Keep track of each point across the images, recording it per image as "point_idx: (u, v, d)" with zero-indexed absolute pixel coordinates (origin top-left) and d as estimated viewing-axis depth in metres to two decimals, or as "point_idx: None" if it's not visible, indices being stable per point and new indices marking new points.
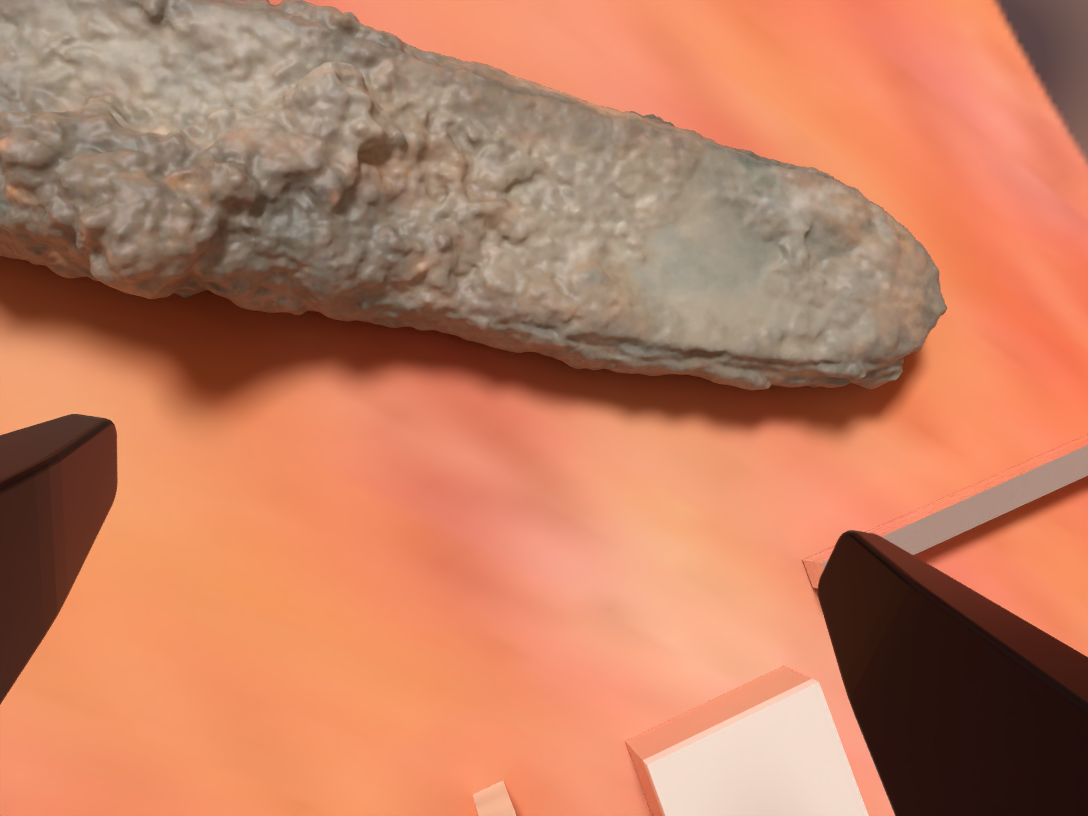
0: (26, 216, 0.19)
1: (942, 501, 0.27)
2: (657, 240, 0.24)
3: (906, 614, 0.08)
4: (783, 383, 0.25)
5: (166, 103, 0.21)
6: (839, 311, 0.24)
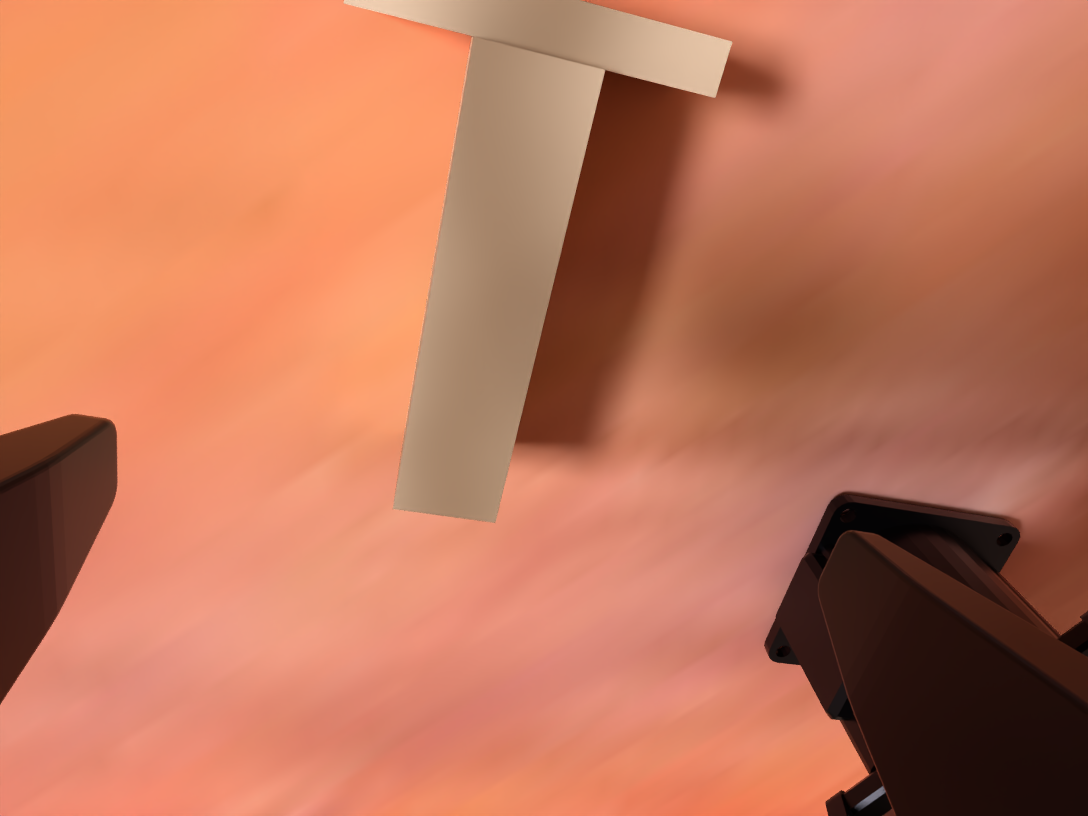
0: None
1: None
2: None
3: (906, 614, 0.08)
4: None
5: None
6: None
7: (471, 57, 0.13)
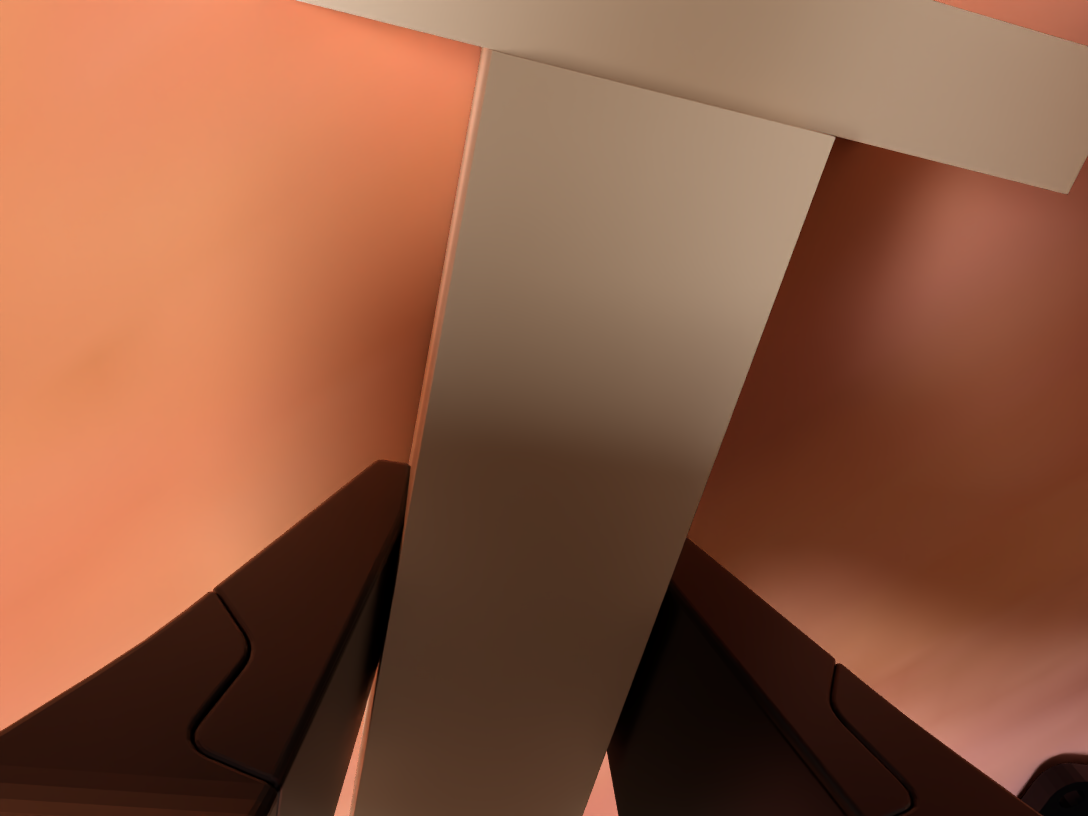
0: None
1: None
2: None
3: None
4: None
5: None
6: None
7: (485, 106, 0.05)
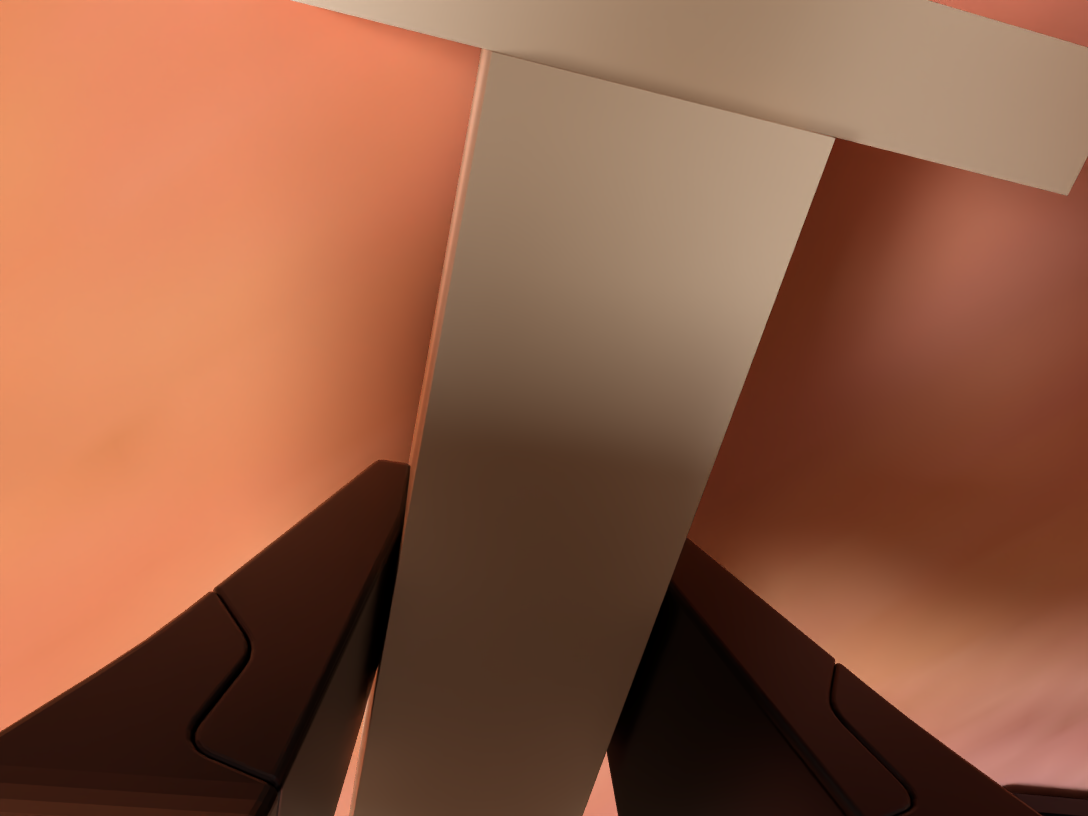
0: None
1: None
2: None
3: None
4: None
5: None
6: None
7: (484, 107, 0.05)
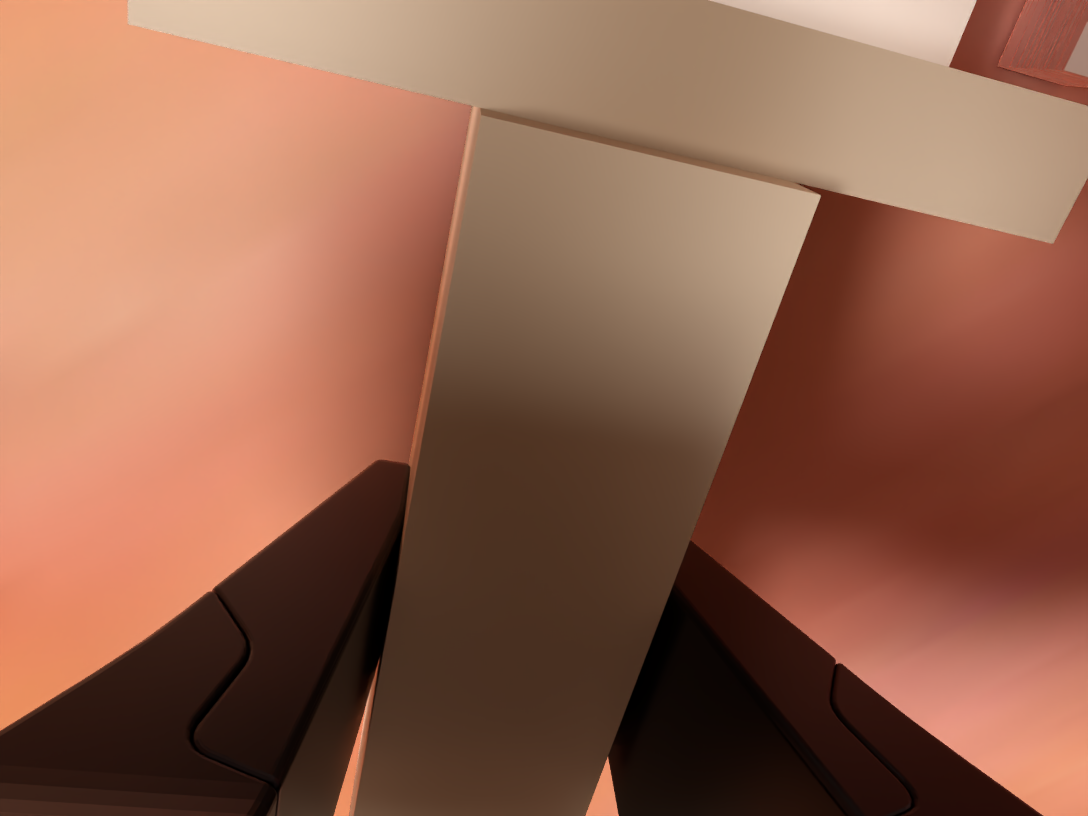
0: None
1: None
2: None
3: None
4: None
5: None
6: None
7: (474, 167, 0.05)
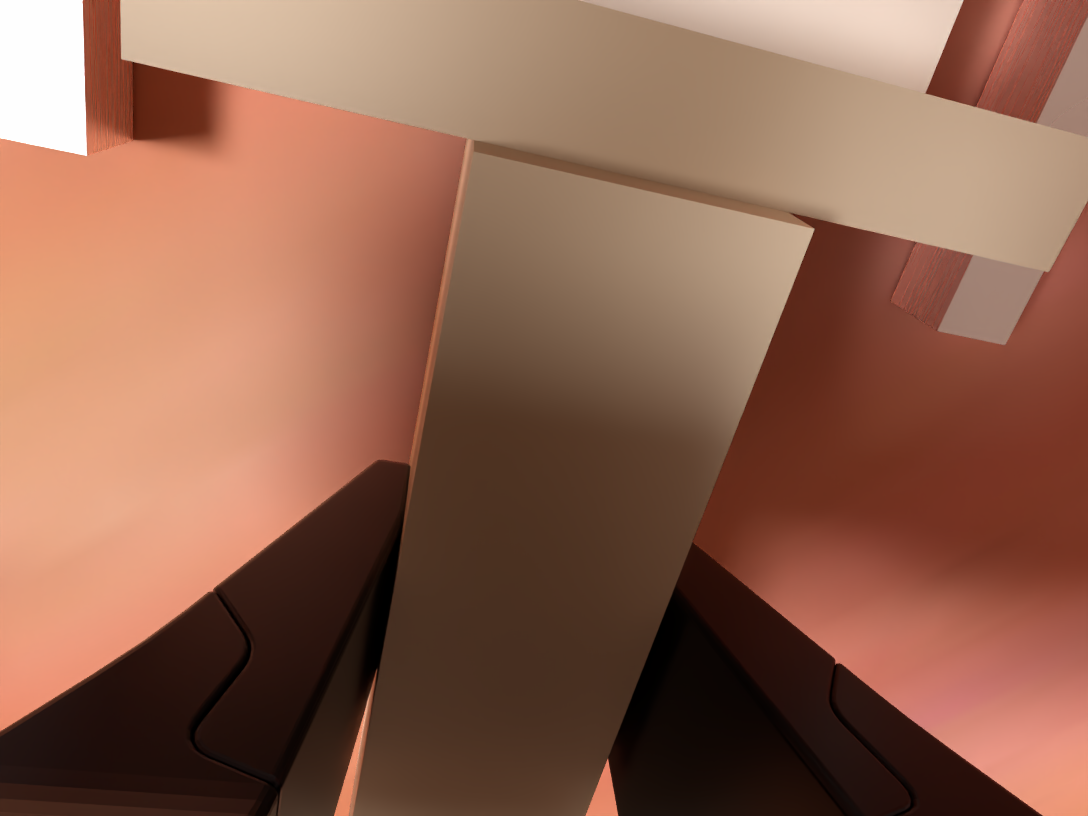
0: None
1: None
2: None
3: None
4: None
5: None
6: None
7: (467, 203, 0.05)
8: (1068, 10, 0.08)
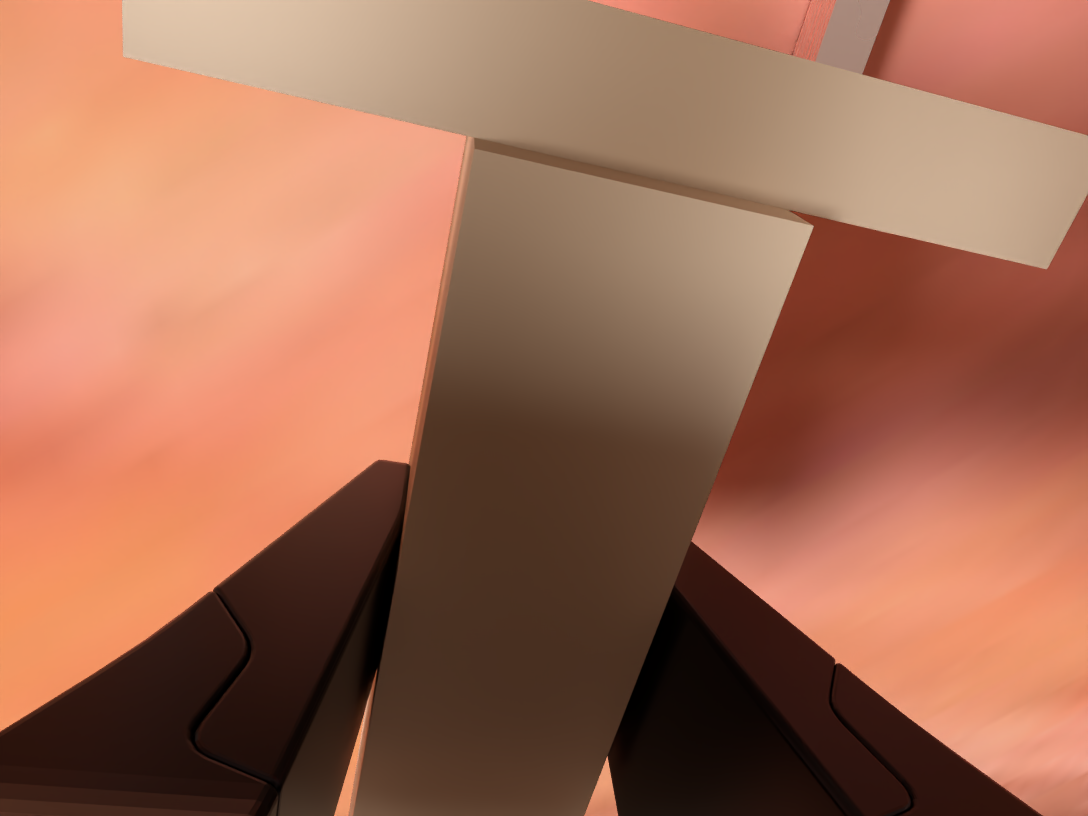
0: None
1: None
2: None
3: None
4: None
5: None
6: None
7: (468, 199, 0.05)
8: None
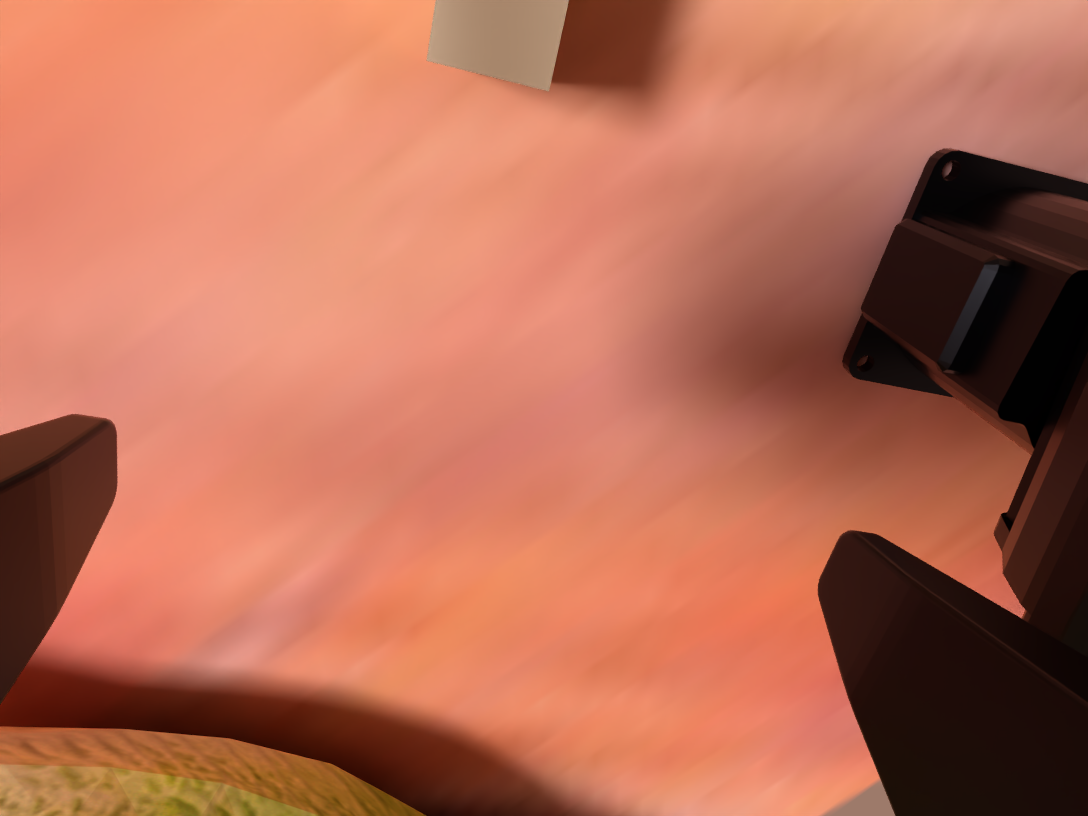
0: None
1: None
2: None
3: (905, 614, 0.08)
4: None
5: None
6: None
7: None
8: None
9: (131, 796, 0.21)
